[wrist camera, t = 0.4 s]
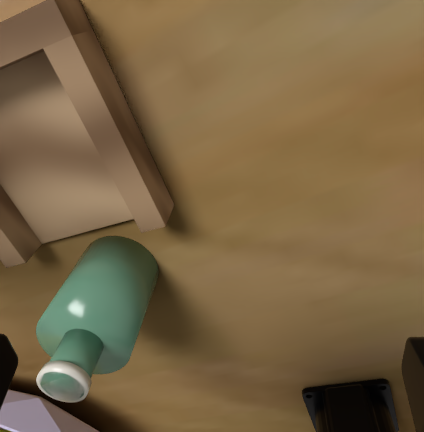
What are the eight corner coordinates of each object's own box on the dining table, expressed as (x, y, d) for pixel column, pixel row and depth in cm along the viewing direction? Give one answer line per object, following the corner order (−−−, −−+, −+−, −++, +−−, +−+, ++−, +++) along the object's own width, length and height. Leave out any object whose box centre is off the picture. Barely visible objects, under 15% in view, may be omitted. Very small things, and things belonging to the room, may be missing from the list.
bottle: (170, 288, 26) (133, 412, 19) (106, 301, 28) (47, 422, 20) (138, 227, 24) (80, 341, 16) (69, 245, 25) (-14, 359, 18)
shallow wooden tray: (174, 204, 23) (165, 226, 21) (26, 245, 26) (6, 267, 24) (77, -5, 17) (52, -3, 15) (-95, 77, 20) (-134, 87, 18)
